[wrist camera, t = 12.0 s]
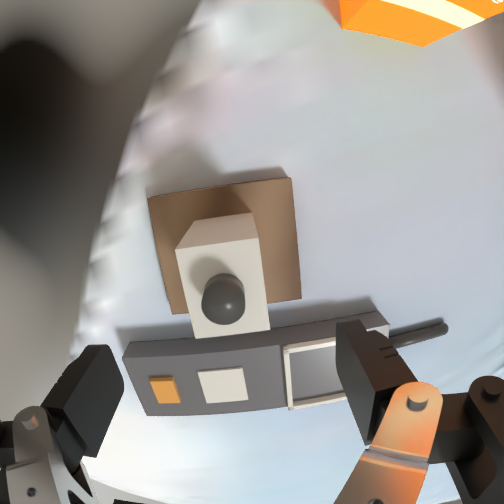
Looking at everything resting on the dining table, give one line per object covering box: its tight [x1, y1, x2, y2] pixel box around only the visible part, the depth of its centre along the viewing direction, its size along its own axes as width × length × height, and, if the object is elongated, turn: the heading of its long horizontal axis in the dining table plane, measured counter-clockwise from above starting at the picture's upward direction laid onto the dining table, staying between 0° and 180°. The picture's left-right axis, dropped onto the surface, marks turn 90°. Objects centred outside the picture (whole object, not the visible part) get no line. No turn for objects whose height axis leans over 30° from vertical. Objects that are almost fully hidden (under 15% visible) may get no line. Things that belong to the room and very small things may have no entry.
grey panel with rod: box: [122, 311, 448, 416], centre depth 25 cm, size 30×7×3 cm, turn 97°
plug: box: [175, 212, 270, 339], centre depth 18 cm, size 4×5×8 cm
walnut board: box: [147, 177, 302, 315], centre depth 23 cm, size 10×9×1 cm
